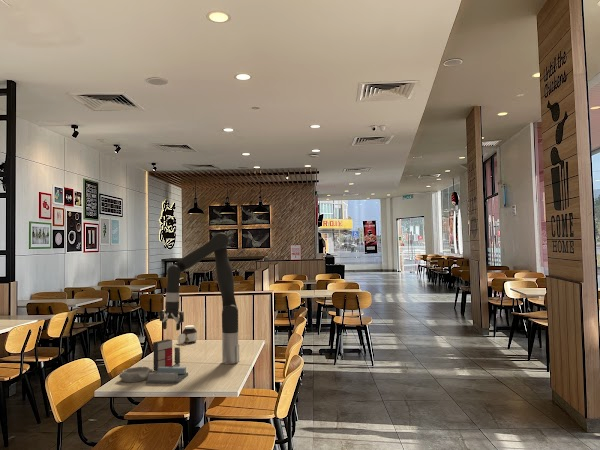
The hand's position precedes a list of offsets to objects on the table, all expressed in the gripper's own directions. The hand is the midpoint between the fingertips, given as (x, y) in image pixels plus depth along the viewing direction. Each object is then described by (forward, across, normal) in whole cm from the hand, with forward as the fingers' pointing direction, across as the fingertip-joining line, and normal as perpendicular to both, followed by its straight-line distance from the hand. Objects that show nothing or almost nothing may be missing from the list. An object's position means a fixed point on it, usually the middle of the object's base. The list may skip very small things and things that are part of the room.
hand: (171, 329), depth 271 cm
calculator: (+21, +2, +3) cm, 21 cm away
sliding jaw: (+19, -12, +12) cm, 25 cm away
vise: (+21, -14, +22) cm, 33 cm away
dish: (+22, +2, +26) cm, 34 cm away
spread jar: (+20, +30, -64) cm, 73 cm away
